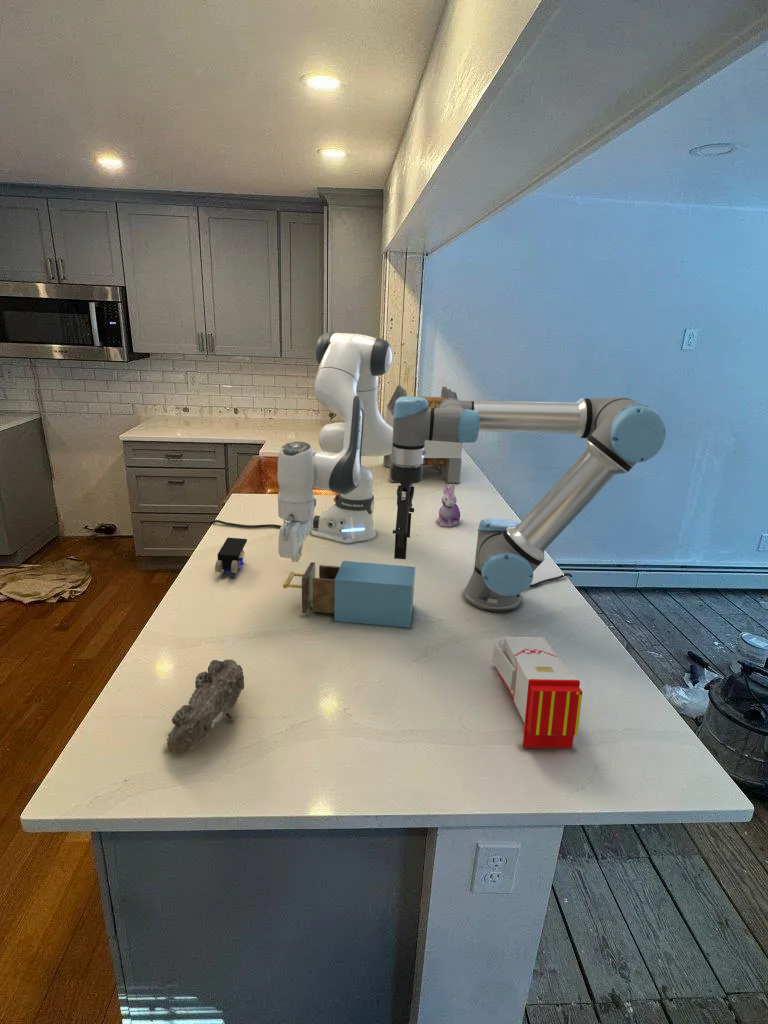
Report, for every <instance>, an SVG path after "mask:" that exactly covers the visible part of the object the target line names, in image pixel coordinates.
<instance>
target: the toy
mask: <svg viewBox="0 0 768 1024" xmlns="http://www.w3.org/2000/svg"><path fill="white" fill-rule="evenodd" d="M491 662H492V663H493V665H494V667H495V669H496V671H497V673H498V675H499V676H500V678H501V680H502V683H503V684H504V686H505V688H506V689H507V691H508V693H509V695H510V697H511V698H512V700H513V702H514V705H515V707H516V709H517V711H518V713H519V715H520V717H521V719H522V722H523V724H524V725H523V736H522V748H524V749H573V747H574V738H575V736H577V737H578V734H579V725H580V717H581V710H582V709H581V708H582V701H583V700H582V699H583V690H582V689H581V688H580V685H581V681H580V679H574V677H573V676H572V675H571V673H570V672H569V670H568V669H567V668H566V667H565V665H564V664H563V662H562V661H561V660H560V658H559V657H558V656H557V654H556V653H555V651H554V650H553V649H552V647H551V645H550V643H549V642H547V640H546V639H545V637H543V636H542V637H541V636H535V637H534V636H503V637H500V638H499V642H498V643H497V642H494V643H493V649H492V657H491Z"/></svg>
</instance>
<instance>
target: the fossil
mask: <svg viewBox="0 0 768 1024" xmlns="http://www.w3.org/2000/svg"><path fill="white" fill-rule="evenodd" d="M243 670H244V669H243V667H242V665H240V664H237V662H236V661H235V660H234V659H232V658H231V659H227V658H226V659H224V660H223V661H222V660H217V659H212V660H211V661H210V663H209V665H208V666H207V671H201V672H199V673H198V674H197V675H196V676H195V680H194V684H195V685H194V687H195V689H194V690H193V693H192V694H191V697H190V698H189V700H188V704H184V705H182V706H181V707H180V709H177V710H176V711H175V713H174V715H173V716H172V718H171V723H172V724H173V727H172V730H171V731H170V732H168V734H167V738H166V741H167V742H166V745H167V749H168V750H169V751H173V752H174V753H176V754H178V753H182V752H188V751H189V752H192V751H193V750H195V748H196V747H197V746H199V744H200V743H201V742H203V741H204V740H205V739H206V738H207V737H208V736H209V735H210V734H211V733H212V732H214V730H215V729H217V727H218V726H219V724H220V722H221V721H222V720H223V719H224V718H225V716H226V717H227V719H229V720H233V717H232V715H230V714H229V710H230V709H231V708H234V706H235V704H236V703H237V702H238V699H239V697H240V695H241V693H242V691H243V690H245V689H244V688H245V675H244V671H243Z"/></svg>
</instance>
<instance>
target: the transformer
mask: <svg viewBox="0 0 768 1024" xmlns="http://www.w3.org/2000/svg"><path fill="white" fill-rule="evenodd" d="M440 393H441V394H440V396H421V397H422V398H425V399H426V400H427V404H428V407H431V408H438V407H439V405H440V404H441V403H442V402H443V401H444V400H446V399H450V398H454V399H458V400H459V398H458V395H457V392H455V391H453V390H452V389H451V388H447V386H442V387H441V392H440ZM407 394H408V393H407V390H406V389H404V388H403V387H402V385H399V384H398V385H397V386H396V388H395V390H394V392H393V394H392V395H391V398H390V400H389V402H388V404H387V405H386V413H385V414H386V415H385V422H386V423H387V424H388V425H390V426H391V427H392V428H393V417H394V407H395V401H396V400H397V399H398V398H400V397H405V396H408V395H407ZM412 396H413V395H412ZM413 397H419V396H415V395H414V396H413ZM424 444H425V446H424V450H423V451H426V453H427V455H423V456H424V459H423V464H421V465H422V466H423V467H436V468H437V470H438V469H439V473H440V474H441V475H443V478H444V479H445V481H446V482H447V483H449V484H455V483H456V484H459V483H461V472H462V461H463V460H462V453H463V443H457V442H444V441H429V440H425V443H424ZM391 456H392V453H391V454H390V455H385V456H383V466H384V467H388V468H389V475H388V476H389V477H388V478H389V480H390V482H391V483H396V482H395V481H393V480H392V479H391V465H392V464H393V463H392V461H391Z"/></svg>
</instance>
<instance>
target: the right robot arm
mask: <svg viewBox="0 0 768 1024" xmlns="http://www.w3.org/2000/svg"><path fill="white" fill-rule="evenodd" d="M422 397H423V396H418V397H417V396H415V397H413V395H412V396H411V395H407V396H405V397H400V398H398V399H397V400H396V401H395V407H394V417H393V443H392V456H391V461H392V463H393V464H392V465H391V479H392V480H393V481H395V482H394V483H399V484H400V485H397V488H396V497H397V498H396V507H397V510H396V521H395V529H392V534H395V535H394V536H395V538H394V557H393V559H395V560H406V559H407V549H408V548H407V546H408V539H410V538H411V528H412V527H411V526H412V513H415V508H414V507H413V499H414V494H415V486H413V484H419V483H420V482H422V480H423V474H424V466H422V465H421V464H423V459H424V456H423V455H427V453H426V451H423V450H424V446H425V444H424V443H425V440H429V441H444V442H457V443H462V444H467V443H468V444H473V443H476V442H477V441H478V437H479V432H485V433H486V432H489V433H491V432H492V433H525V434H526V433H527V434H529V433H530V434H566V435H567V434H569V435H574V436H576V438H578V439H586V440H585V447H586V448H585V450H584V452H583V453H582V454H581V455H580V457H578V458H577V460H576V461H575V462H574V463H573V464H572V465H571V466H570V467H569V469H568V470H567V471H566V472H565V473H564V474H563V475H562V476H561V477H560V478H559V479H558V481H556V483H555V484H554V485H553V486H552V487H551V488H550V489H549V491H547V492H546V493H545V495H544V496H543V497H542V498H541V499H540V501H538V503H537V504H535V506H534V507H533V508H532V509H531V510H530V511H529V512H528V514H527V515H526V516H525V517H524V518H523V519H522V520H521V521H520V522H519V521H516V520H513V519H508V518H501V517H489V518H484V519H481V520H480V521H479V523H478V528H477V540H476V549H475V556H474V557H475V558H474V568H473V571H472V574H471V576H470V577H469V580H468V582H467V584H466V586H465V589H464V598H465V600H466V601H467V602H468V603H469V604H470V605H472V606H474V607H476V608H477V609H481V610H483V611H489V612H495V613H496V612H497V613H498V612H499V613H503V612H510V611H513V610H515V609H517V608H518V607H519V606H520V605H521V601H522V593H524V592H525V591H526V590H528V589H529V588H534V587H537V586H540V585H542V584H545V583H548V582H552V581H556V580H560V579H562V578H565V577H566V576H568V577H569V578H573V575H572V574H571V573H569V572H566V573H563V574H564V576H563V574H561V575H558V576H556V577H551V578H547V579H543V580H540V581H538V582H536V583H533V580H534V576H535V575H534V572H535V571H536V569H537V568H538V567H539V566H540V565H542V563H543V562H544V561H545V550H546V549H548V547H549V546H550V545H552V543H553V542H554V541H555V540H556V539H557V538H558V537H559V536H560V534H562V532H564V530H565V529H566V528H567V527H568V526H569V525H570V524H571V523H572V522H573V521H574V520H575V519H576V517H577V516H579V514H580V513H581V512H582V511H583V510H584V509H585V508H586V507H587V506H588V505H589V504H590V503H591V501H592V500H593V499H595V498H596V496H597V495H598V494H599V493H600V492H601V491H602V490H603V489H604V488H605V487H606V486H607V485H608V484H609V482H611V481H612V479H614V477H615V476H617V475H621V474H623V475H624V474H628V473H629V472H630V471H631V470H632V469H633V468H634V467H635V466H636V464H637V463H642V462H643V463H644V462H647V461H648V460H651V459H652V458H654V457H655V456H656V455H657V454H659V453H660V451H661V449H663V446H664V444H665V441H666V436H667V429H666V425H665V421H664V419H663V417H662V416H661V415H660V414H659V413H658V412H657V411H656V410H654V408H651V407H650V406H649V405H646V404H644V403H643V404H642V403H640V402H637V401H636V400H633V399H631V398H628V397H617V396H615V397H599V398H598V397H597V398H594V397H592V398H580V399H579V400H578V401H576V402H565V401H564V402H563V401H562V402H560V401H558V402H557V401H511V400H510V401H509V400H507V401H505V400H501V401H500V400H460V399H459V398H458V399H454V398H450V399H446V400H444V401H443V402H442V403H441V404H440V405H439V407H438V408H431V407H428V404H427V400H426V399H425V398H422Z"/></svg>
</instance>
